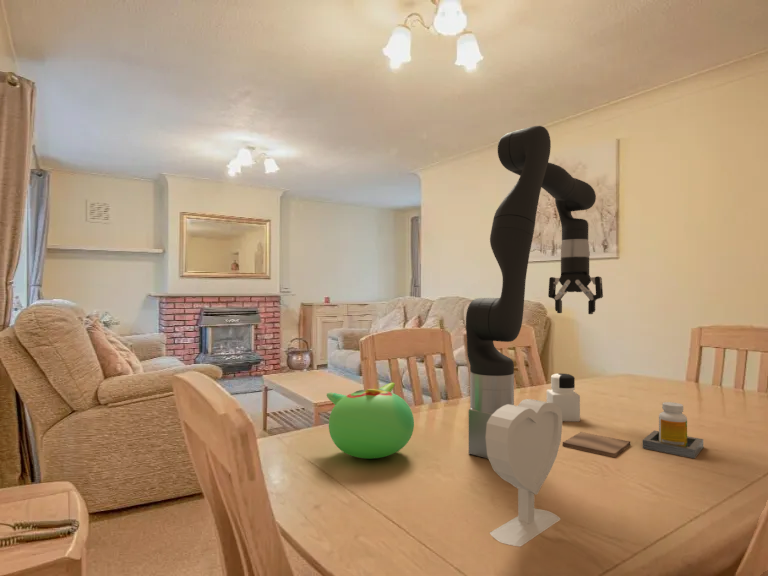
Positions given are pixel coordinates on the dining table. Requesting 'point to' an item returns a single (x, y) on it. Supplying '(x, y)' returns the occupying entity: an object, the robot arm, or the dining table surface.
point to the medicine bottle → (565, 396)
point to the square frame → (673, 446)
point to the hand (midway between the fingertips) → (574, 313)
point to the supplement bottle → (673, 424)
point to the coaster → (597, 444)
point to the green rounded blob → (370, 422)
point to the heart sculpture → (524, 462)
